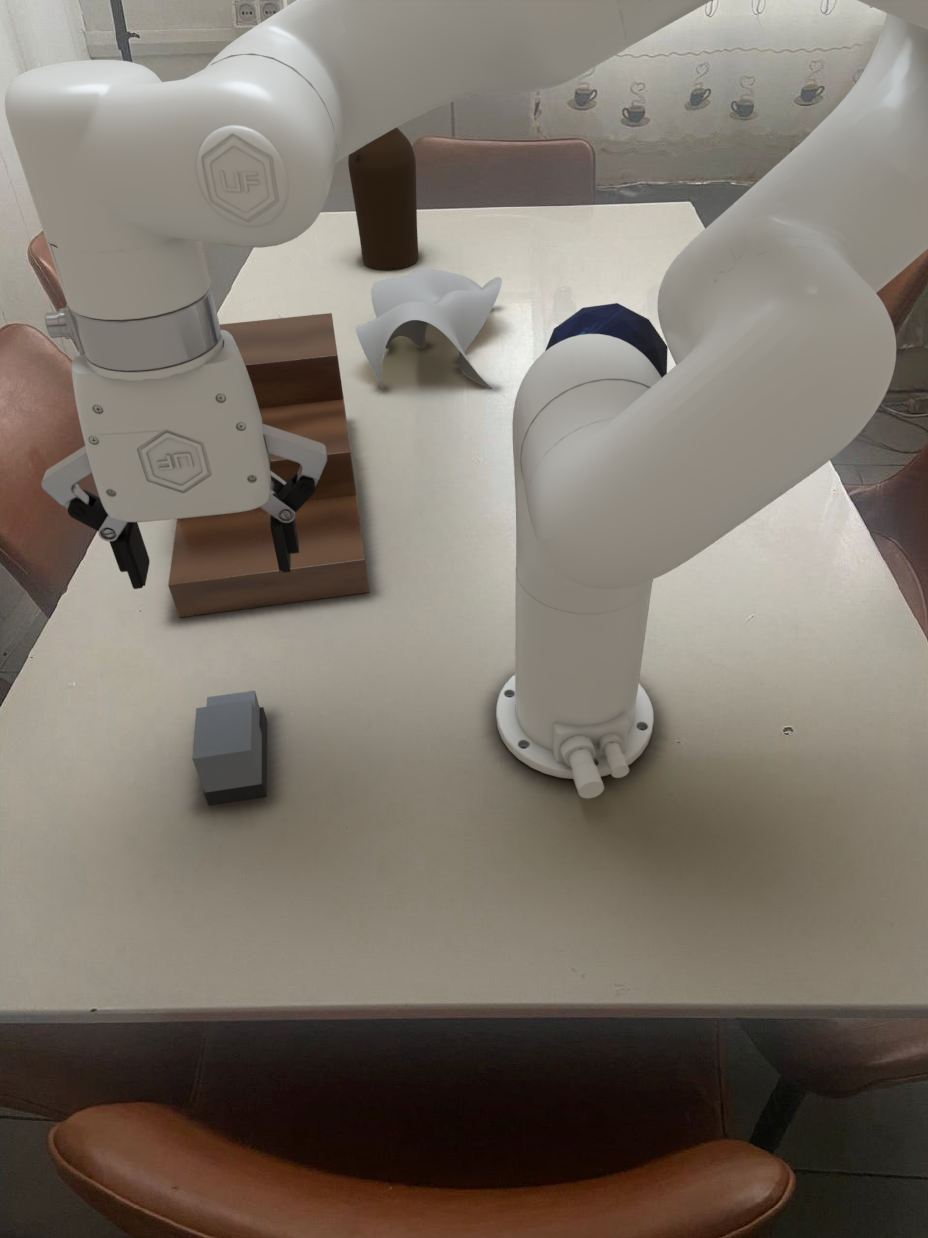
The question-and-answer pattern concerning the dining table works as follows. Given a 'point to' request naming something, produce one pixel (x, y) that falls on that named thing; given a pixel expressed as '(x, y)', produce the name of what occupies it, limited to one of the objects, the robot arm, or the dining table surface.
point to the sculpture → (427, 313)
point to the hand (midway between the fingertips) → (214, 567)
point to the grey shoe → (231, 748)
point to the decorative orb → (616, 330)
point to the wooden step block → (327, 522)
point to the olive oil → (386, 201)
